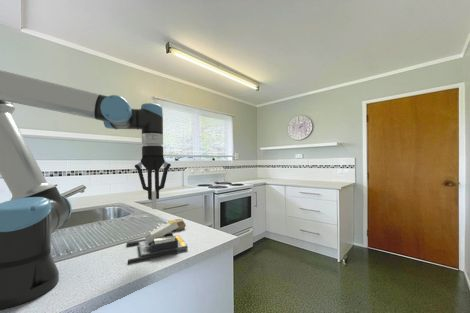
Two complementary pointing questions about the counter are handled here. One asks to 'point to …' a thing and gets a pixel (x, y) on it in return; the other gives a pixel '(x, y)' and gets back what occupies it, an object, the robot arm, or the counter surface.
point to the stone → (179, 224)
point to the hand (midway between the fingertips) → (153, 208)
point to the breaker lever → (161, 231)
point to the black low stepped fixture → (132, 243)
